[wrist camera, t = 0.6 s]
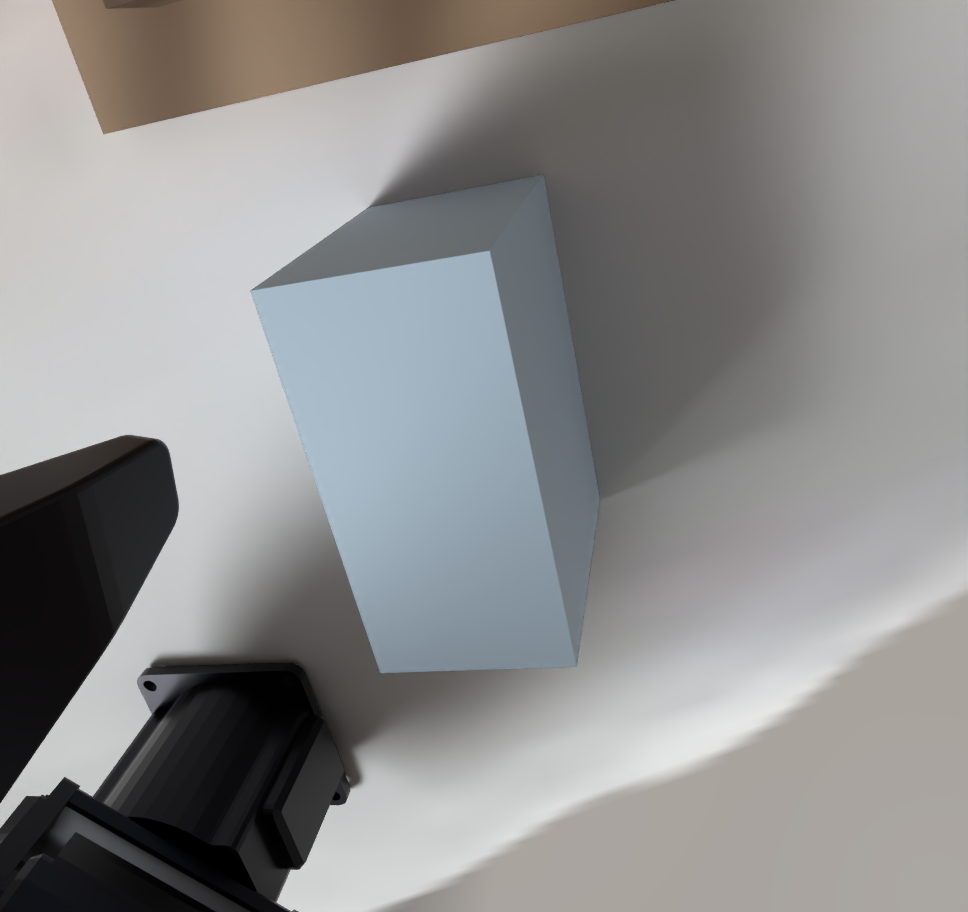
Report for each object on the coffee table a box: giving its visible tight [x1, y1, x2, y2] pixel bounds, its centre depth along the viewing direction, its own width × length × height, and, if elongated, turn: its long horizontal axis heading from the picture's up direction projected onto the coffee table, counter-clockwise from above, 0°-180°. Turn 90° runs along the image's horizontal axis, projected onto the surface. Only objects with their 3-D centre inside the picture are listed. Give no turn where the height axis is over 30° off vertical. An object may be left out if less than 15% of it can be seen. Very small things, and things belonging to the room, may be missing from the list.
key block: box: [251, 174, 600, 673], centre depth 20 cm, size 4×9×7 cm, turn 12°
